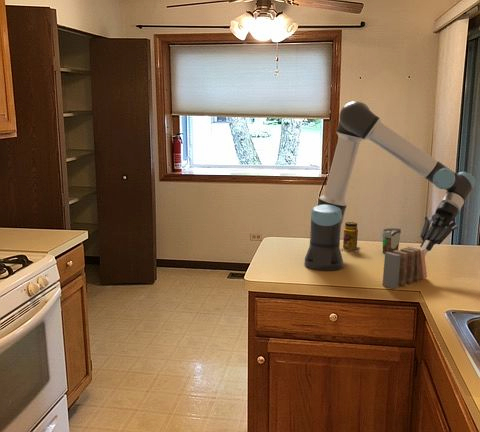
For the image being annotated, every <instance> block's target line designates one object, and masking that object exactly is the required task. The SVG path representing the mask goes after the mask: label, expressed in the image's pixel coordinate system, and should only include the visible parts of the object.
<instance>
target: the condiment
mask: <svg viewBox="0 0 480 432" xmlns="http://www.w3.org/2000/svg"><path fill="white" fill-rule="evenodd" d="M358 232H359V229H358V223H357V222H353V221H347V222H345V223H344V229H343V238H342V239H343V241H342V247H343V249H344V250H342V248H340V251H345V252H357V253H358V251H359V249H360V248H361V246H358Z"/></svg>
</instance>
